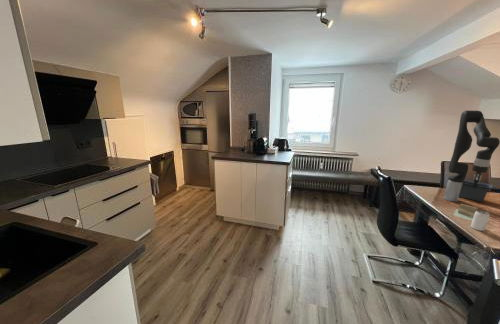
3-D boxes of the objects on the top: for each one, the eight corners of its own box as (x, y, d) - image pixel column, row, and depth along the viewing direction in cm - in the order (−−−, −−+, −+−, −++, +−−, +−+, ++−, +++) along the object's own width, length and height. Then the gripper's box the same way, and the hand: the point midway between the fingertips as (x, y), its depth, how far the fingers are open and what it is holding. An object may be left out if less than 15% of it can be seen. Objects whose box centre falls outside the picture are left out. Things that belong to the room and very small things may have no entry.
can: (471, 228, 135) (476, 212, 132) (469, 224, 140) (474, 208, 137) (485, 232, 131) (491, 215, 128) (483, 228, 136) (489, 211, 133)
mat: (456, 209, 162) (456, 208, 161) (478, 215, 153) (478, 214, 152) (453, 216, 152) (453, 215, 151) (476, 222, 143) (477, 222, 143)
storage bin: (451, 196, 187) (455, 181, 184) (454, 191, 197) (458, 177, 193) (486, 204, 171) (491, 188, 168) (487, 199, 181) (492, 184, 177)
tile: (458, 211, 157) (460, 203, 155) (475, 216, 150) (477, 207, 148) (457, 212, 155) (460, 204, 154) (474, 217, 149) (477, 208, 147)
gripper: (474, 162, 154) (468, 184, 159) (472, 165, 146) (466, 188, 150) (489, 164, 149) (482, 187, 153) (488, 167, 141) (481, 191, 145)
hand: (474, 187), depth 152 cm, fingers closed
